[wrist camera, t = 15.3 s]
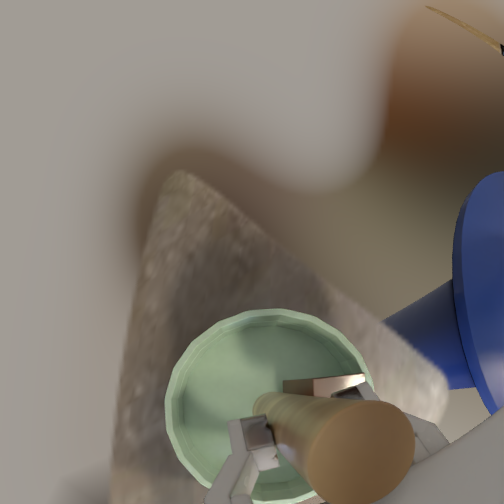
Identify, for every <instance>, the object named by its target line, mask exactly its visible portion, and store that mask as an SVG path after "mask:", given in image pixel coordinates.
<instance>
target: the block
mask: <svg viewBox="0 0 504 504" xmlns="http://www.w3.org/2000/svg"><path fill="white" fill-rule="evenodd" d="M362 382H365V373H364V372H362V373H355V374H346V375H338V376H328V377H319V378H308V379H295V380H283V393H290V394H298V395H307V396H317V397H328V398H330V397H331V394H332V393H334V392H337V391H340V390H343V389H346V388H348V387H351V386H355V385H357V384H360V383H362Z"/></svg>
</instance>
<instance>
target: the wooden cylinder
mask: <svg viewBox="0 0 504 504" xmlns="http://www.w3.org/2000/svg"><path fill="white" fill-rule="evenodd" d="M264 413H266V416H267V420H268V423H269V427H270V430H271V433H272V436H273V440H274V443H275V447H276V448H277V449H278V450H279V451H280V453H281V454H282V455H283V456H284V457H285V459H286V460H287V461H288V462H289V463H290V464H291V466H292V467H293V468H294V469H295V470H296V471H297V472H298V474H299V475H300V476H301V477H302V478H303V479H304V480H305V481H306V483H307V484H308V485H309V486H310V487H311V488H312V489H313V490H314V491H315V492H316V493H317V494H318V495H319V496H320V497H321V498H322V499H323V500H325V501H326V502H328V503H330V504H371V503H374V502H376V501H378V500H380V499H382V498H383V497H385V496H387V495H388V494H389V493H390V492H392V491H393V490H394V489H395V488H396V487H397V486H398V485H399V484H400V483H401V481H402V480H403V479H404V477H405V476H406V474H407V472H408V471H409V469H410V466H411V464H412V461H413V458H414V454H415V434H414V430H413V427H412V425H411V422H410V421H409V419H408V417H407V416H406V415H405V414H404V413H403V412H402V411H401V410H400V409H399V408H397V407H396V406H394V405H392V404H390V403H387V402H383V401H377V400H358V399H341V398H328V397H317V396H307V395H298V394H290V393H282V392H267V393H264V394H262V395H261V396H260V397H258V398H257V400H256V401H255V403H254V405H253V408H252V414H253V416H254V415H259V414H264Z"/></svg>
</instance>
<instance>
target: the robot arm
mask: <svg viewBox="0 0 504 504" xmlns="http://www.w3.org/2000/svg"><path fill="white" fill-rule="evenodd" d="M330 398H341V399H358V400H377V401H380V399H379V398H378V396H377V395H376V393H375V392H374V391H373V389H372V388H371V386H370V385H369V383H368V382H366V381H365V382H362V383H360V384H357V385H355V386H351V387H348V388H346V389H343V390H340V391H337V392H334V393H332V394H331V397H330ZM403 413H404V414H405V415H406V416H407V417H408V419H409V421H410V422H411V425H412V427H413V430H414V434H415V454H414V458H413V461H412V464H411V466H410V469H409V471H408V472H407V474H406V476H405V477H404V479H403V480H402V481H401V483H400V484H399V485H398V486H397V487H396V488H395V489H394V490H393V491H392V492H390V493H389V494H388V495H387V496H385V497H383V498H382V499H380V500H378V501H376V502H374V503H371V504H504V406H503V407H501V408H500V409H499V410H498V411H496V412H495V413H494V414H492V415H491V416H490V417H488V418H487V419H486V420H484V421H483V422H482V423H480V424H479V425H478V426H476V427H475V428H473V429H472V430H470V431H469V432H468V433H466V434H465V435H463V436H461V437H460V438H459V439H457V440H455V441H454V442H452V443H451V444H450V443H449V442H448V440H447V439H446V438H445V437H444V435H443V434H442V433H441V431H440V430H439V429H438V427H437V426H436V425H435V424H434V423H431V422H429V421H426V420H423V419H420V418H418V417H415V416H412V415H410V414H407V413H405V412H403ZM227 427H228V433H229V439H230V444H231V450H232V454H231V455H228V457H227V459H226V461H225V463H224V464H223V466H222V468H221V470H220V472H219V473H218V475H217V477H216V479H215V480H214V482H213V484H212V486H211V487H210V489H209V491H208V492H207V494H206V496H205V498H204V504H254V503H253V501H252V499H251V497H250V495H251V493H252V490H253V488H254V485H255V483H256V480H257V478H258V475H259V472H261V471H265V470H269V469H273V468H277V467H280V464H279V460H278V456H277V451H276V447H275V443H274V440H273V436H272V433H271V430H270V427H269V423H268V420H267V416H266V413H264V414H259V415H254V416H250V417H245V418H239V419H235V420H229V421H227ZM321 504H330V503H328V502H324V503H321Z"/></svg>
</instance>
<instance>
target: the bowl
mask: <svg viewBox="0 0 504 504" xmlns="http://www.w3.org/2000/svg"><path fill="white" fill-rule="evenodd" d="M362 372H364V373H365V381H366V382H368V383H369V385H370V386H371V388H372V389H373V391H374V385H373V380H372V378H371V376H370V373H369V371H368V369H367V367H366V364H365V362H364V360H363V358H362V355H361V354H360V352H359V351H358V350H357V349H356V348H355V347H354V346H353V345H352V344H351V342H350V341H349V340H348V339H347V338H346V337H345V336H344V335H343V334H342V333H341V332H340V331H339V330H337V329H336V328H334V327H332V326H330V325H329V324H327V323H325V322H324V321H322V320H320V319H318V318H317V317H315V316H313V315H309V314H305V313H300V312H296V311H292V310H288V309H283V308H282V309H281V308H275V309H260V310H248V311H245V312H243V313H240V314H237V315H234V316H232V317H229V318H226V319H224V320H221V321H218V322H217V323H215V324H214V325H213V326H211V327H210V328H209V329H207V330H206V331H205V332H204V333H202V334H201V335H200V336H198V337H197V338H196V339H194V340H193V341H192V342H191V343H190V345H189V346H188V348H187V349H186V350H185V352H184V353H183V355H182V356H181V358H180V359H179V360H178V362H177V363H176V365H175V366H174V368H173V370H172V374H171V377H170V381H169V384H168V388H167V391H166V395H165V399H164V402H165V420H166V430H167V434H168V436H169V438H170V441H171V443H172V446H173V448H174V450H175V453H176V455H177V457H178V459H179V461H180V462H181V463H182V464H183V465H184V466H185V468H186V469H187V470H188V471H189V472H190V473H191V474H192V475H193V476H194V477H195V479H196V480H197V481H198V482H199V483H200V484H202V485H203V486H205V487H207V488H208V489H210V487H211V486H212V484H213V482H214V480H215V479H216V477H217V475H218V473H219V472H220V470H221V468H222V466H223V464H224V463H225V461H226V459H227V457H228V455H231V454H232V450H231V444H230V439H229V433H228V427H227V421H229V420H235V419H239V418H245V417H250V416H253V414H252V408H253V405H254V403H255V401H256V400H257V398H258V397H260V396H261V395H262V394H264V393H267V392H282V393H283V380H295V379H308V378H319V377H328V376H338V375H346V374H355V373H362ZM276 451H277V456H278V460H279V464H280V467H277V468H273V469H269V470H265V471H261V472H259V475H258V478H257V480H256V483H255V485H254V488H253V490H252V493H251V495H250V497H251V499H252V501H253V503H254V504H294V503H298V502H300V501H303V500H305V499H308V498H310V497H313V496H315V495H317V493H316V492H315V491H314V490H313V489H312V488H311V487H310V486H309V485H308V484H307V483H306V481H305V480H304V479H303V478H302V477H301V476H300V475H299V474H298V472H297V471H296V470H295V469H294V468H293V467H292V466H291V464H290V463H289V462H288V461H287V460H286V459H285V457H284V456H283V455H282V454H281V453H280V451H279V450H278V449H277V448H276Z"/></svg>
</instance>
